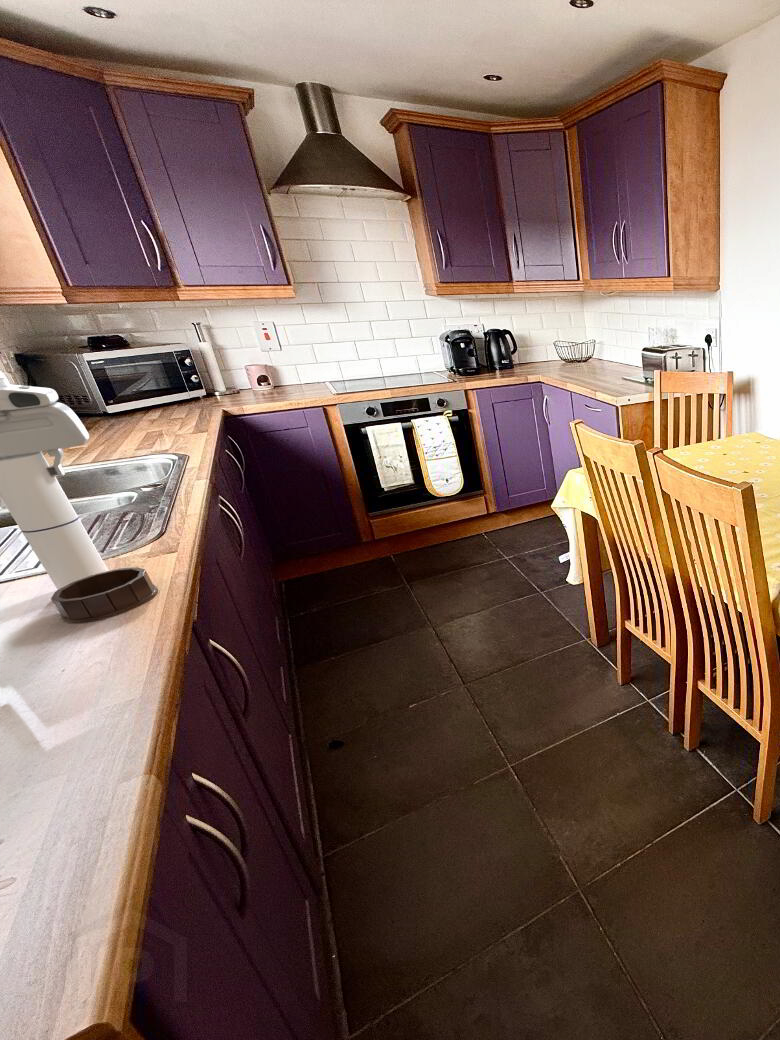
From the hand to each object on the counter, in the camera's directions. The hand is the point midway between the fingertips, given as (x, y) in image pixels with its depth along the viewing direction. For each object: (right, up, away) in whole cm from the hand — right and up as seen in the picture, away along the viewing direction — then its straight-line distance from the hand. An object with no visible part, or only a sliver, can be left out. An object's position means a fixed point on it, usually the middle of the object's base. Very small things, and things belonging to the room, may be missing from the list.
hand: (25, 481), depth 100 cm
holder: (+13, -21, +2) cm, 25 cm away
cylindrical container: (+1, -19, +9) cm, 21 cm away
